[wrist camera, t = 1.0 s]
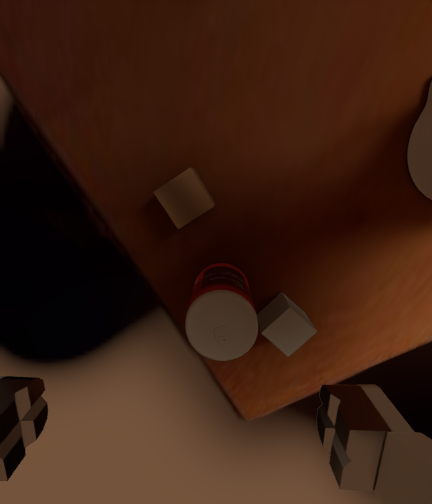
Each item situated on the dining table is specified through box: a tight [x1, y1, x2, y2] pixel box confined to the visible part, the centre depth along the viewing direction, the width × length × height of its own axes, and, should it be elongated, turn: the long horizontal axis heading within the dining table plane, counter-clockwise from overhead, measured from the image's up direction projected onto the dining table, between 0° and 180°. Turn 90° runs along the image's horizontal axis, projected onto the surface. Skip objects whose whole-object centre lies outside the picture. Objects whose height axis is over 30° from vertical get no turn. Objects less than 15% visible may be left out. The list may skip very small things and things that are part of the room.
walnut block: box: [154, 167, 215, 229], centre depth 34 cm, size 5×5×5 cm
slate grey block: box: [257, 292, 317, 357], centre depth 38 cm, size 5×5×5 cm
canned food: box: [185, 263, 258, 361], centre depth 34 cm, size 8×8×11 cm
